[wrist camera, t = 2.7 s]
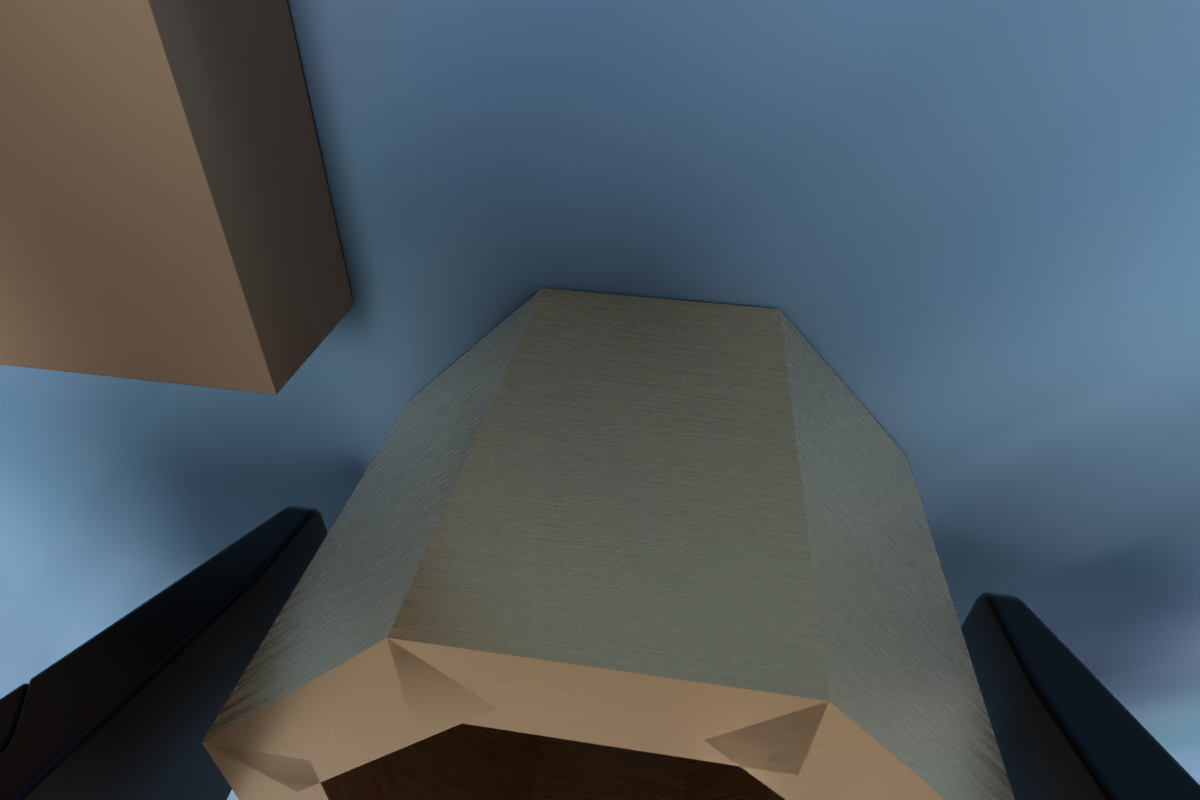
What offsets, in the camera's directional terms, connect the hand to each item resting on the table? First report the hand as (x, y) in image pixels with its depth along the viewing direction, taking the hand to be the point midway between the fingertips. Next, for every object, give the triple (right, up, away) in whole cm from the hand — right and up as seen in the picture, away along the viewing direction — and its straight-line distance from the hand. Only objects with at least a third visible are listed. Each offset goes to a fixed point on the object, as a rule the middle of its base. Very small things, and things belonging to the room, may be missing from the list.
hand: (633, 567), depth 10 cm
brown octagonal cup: (0, +1, +1) cm, 1 cm away
